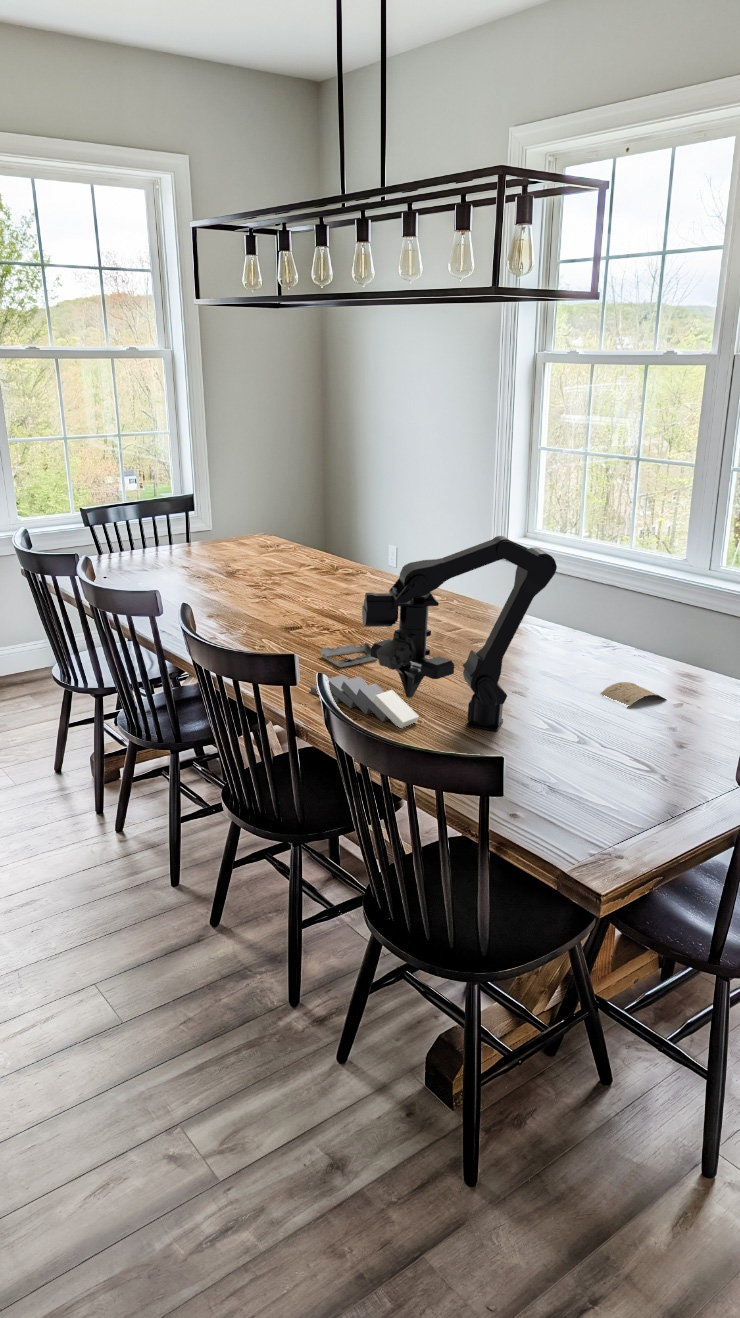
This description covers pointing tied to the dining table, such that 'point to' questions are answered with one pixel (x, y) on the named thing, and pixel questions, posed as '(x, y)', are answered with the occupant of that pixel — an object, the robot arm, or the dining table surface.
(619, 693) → the tan curved piece
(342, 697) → the domino
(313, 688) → the domino
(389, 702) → the loose domino
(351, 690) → the domino
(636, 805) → the dining table surface
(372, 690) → the domino
